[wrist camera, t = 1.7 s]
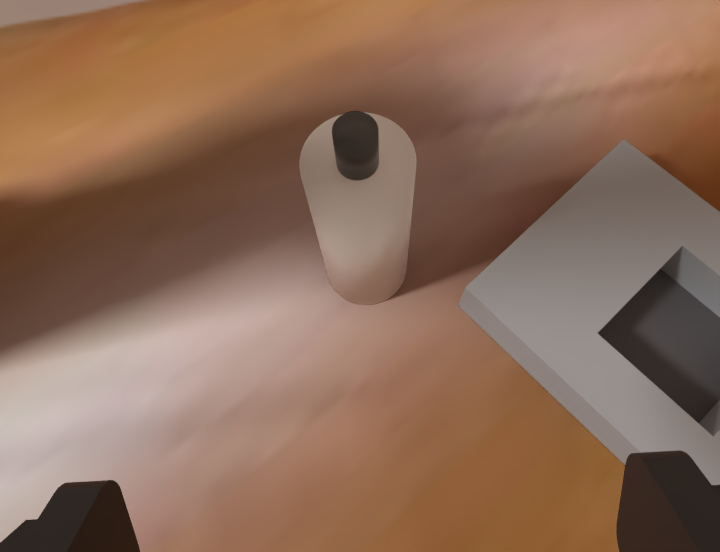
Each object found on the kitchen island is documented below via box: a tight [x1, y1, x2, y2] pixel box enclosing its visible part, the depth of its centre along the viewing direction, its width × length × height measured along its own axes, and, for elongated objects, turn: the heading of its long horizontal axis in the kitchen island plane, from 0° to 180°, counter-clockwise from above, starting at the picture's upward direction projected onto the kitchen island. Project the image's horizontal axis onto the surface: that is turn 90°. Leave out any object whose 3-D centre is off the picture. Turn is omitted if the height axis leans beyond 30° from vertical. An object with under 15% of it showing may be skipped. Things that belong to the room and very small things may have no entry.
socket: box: [458, 139, 720, 485], centre depth 29 cm, size 18×12×3 cm, turn 43°
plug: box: [299, 111, 417, 305], centre depth 26 cm, size 4×4×13 cm
